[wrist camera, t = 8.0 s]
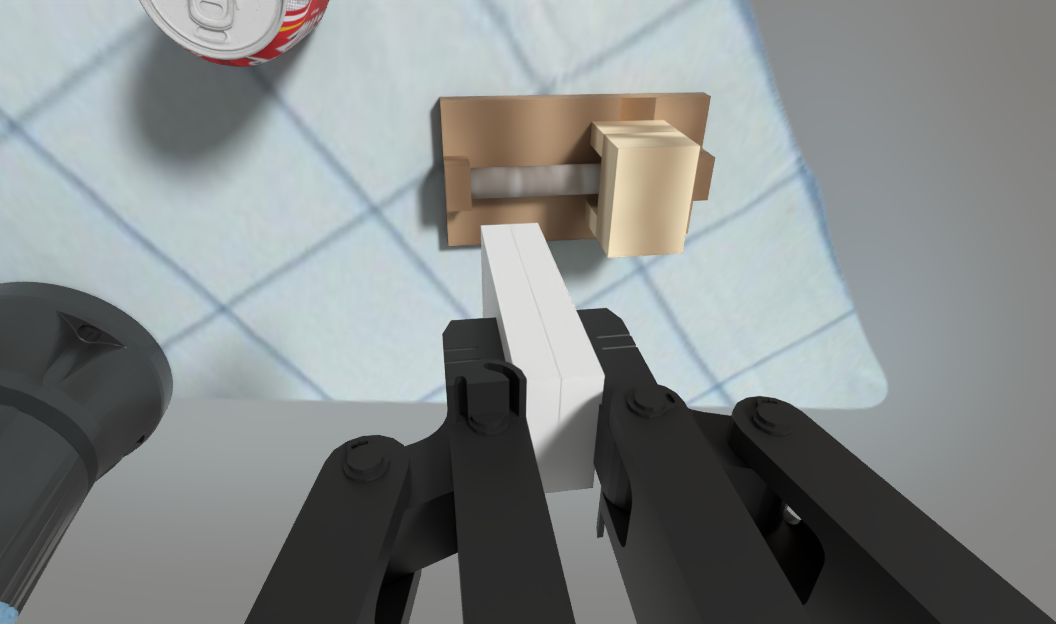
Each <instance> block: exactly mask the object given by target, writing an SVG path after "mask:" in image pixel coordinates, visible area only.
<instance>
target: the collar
mask: <svg viewBox="0 0 1056 624" xmlns="http://www.w3.org/2000/svg"><path fill="white" fill-rule="evenodd" d="M590 145H591V146H592V147H593V148H594V149H595V150H596V151H597V153H598V154H599V155H600V156H601V157H602V161H601V173H600V185H599V197H598V200H586V210H585V221H586V223H587V224H588V226H589V228H590V229H591V231H592V233H593V234H594V236H595V237H596V239H597V241H598V242H599V244H600V246H601V247H602V249H603V251H604V252H605V254H606V255H607V257H608V258H612V257H629V256H646V255H664V254H681V253H682V252H683V246H684V240H685V234H686V228H687V222H688V216H689V210H690V204H691V198H692V193H693V187H694V181H695V175H696V169H697V163H698V157H699V151H700V146H699V145H698V144H696V143H695V142H694V141H692V140H691V139H690V138H688V137H687V136H685V135H684V134H683V133H681V132H680V131H678V130H677V129H676V128H674V127H673V126H671V125H670V124H669V123H667V122H666V121H664V120H642V121H599V122H592V126H591V140H590Z"/></svg>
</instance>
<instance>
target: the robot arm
mask: <svg viewBox="0 0 1056 624" xmlns="http://www.w3.org/2000/svg"><path fill="white" fill-rule="evenodd" d="M481 259H482V297H483V318H479V319H465V320H451V321H450V323H449V324H448V326H447V328H446V329H445V331H444V332H443V334H442V335H443V350H444V364H445V379H446V393H447V407H448V411H447V417H446V419H445V421H444V423H443V424H442V426H441V427H440V428H439V429H438V430H437V431H436V432H434V433H433V434H432V435H430V436H429V437H427V438H425V439H423V440H421V441H418V442H416V443H413V444H410V445H407V446H405V447H404V445H403V444H401V443H399V442H398V441H397V440H395V439H394V438H390V437H386V436H381V435H372V436H362V437H359V438H356V439H353V440H350V441H347V442H345V443H344V444H343V445H341V446H339V447H338V448H336V449H335V450H334V451H333V452H332V453H331V455H330V456H329V457H328V459H327V460H326V461H325V463H324V465H323V467H322V469H321V471H320V473H319V475H318V477H317V479H316V481H315V483H314V485H313V487H312V489H311V491H310V493H309V495H308V497H307V499H306V501H305V503H304V505H303V507H302V509H301V511H300V513H299V515H298V517H297V519H296V521H295V523H294V525H293V527H292V529H291V531H290V533H289V535H288V537H287V539H286V541H285V543H284V545H283V547H282V549H281V551H280V553H279V555H278V557H277V559H276V561H275V563H274V565H273V567H272V569H271V571H270V573H269V575H268V577H267V579H266V581H265V583H264V585H263V587H262V589H261V591H260V593H259V595H258V597H257V599H256V601H255V603H254V605H253V607H252V609H251V611H250V613H249V615H248V617H247V619H246V621H245V623H244V624H408V623H409V620H410V616H411V612H412V608H413V604H414V600H415V596H416V592H417V588H418V584H419V581H420V577H421V569H422V568H424V567H426V566H429V565H431V564H433V563H435V562H438V561H440V560H442V559H444V558H447V557H449V556H451V555H453V554H456V553H458V561H459V574H460V588H461V602H462V615H463V624H576V623H575V619H574V615H573V611H572V606H571V602H570V598H569V594H568V590H567V586H566V581H565V577H564V573H563V569H562V565H561V560H560V557H559V552H558V548H557V544H556V540H555V535H554V532H553V527H552V523H551V519H550V515H549V510H548V506H547V502H546V498H545V494H544V493H551V492H560V491H568V490H578V489H586V488H593V482H594V471H595V469H596V472H597V475H598V478H599V481H600V484H601V494H600V502H599V511H598V519H597V520H598V521H597V538H599V537H603V533H604V525H605V526H606V529H607V532H608V535H609V538H610V541H611V544H612V547H613V550H614V554H615V557H616V560H617V563H618V566H619V569H620V572H621V575H622V578H623V581H624V585H625V588H626V591H627V594H628V597H629V600H630V603H631V606H632V609H633V612H634V615H635V619H636V621H637V624H1056V622H1055V621H1054V620H1053V619H1051V618H1050V617H1049V616H1048V615H1047V614H1045V613H1044V612H1043V611H1042V610H1041V609H1039V608H1038V607H1037V606H1036V605H1035V604H1033V603H1032V602H1031V601H1030V600H1029V599H1027V598H1026V597H1025V596H1024V595H1022V594H1021V593H1020V592H1019V591H1018V590H1016V589H1015V588H1014V587H1013V586H1012V585H1011V584H1009V583H1008V582H1007V581H1006V580H1004V579H1003V578H1002V577H1001V576H1000V575H998V574H997V573H996V572H995V571H994V570H992V569H991V568H990V567H989V566H988V565H986V564H985V563H984V562H983V561H982V560H980V559H979V558H978V557H977V556H976V555H974V554H973V553H972V552H971V551H969V550H968V549H967V548H966V547H965V546H964V545H962V544H961V543H960V542H959V541H957V540H956V539H955V538H954V537H953V536H951V535H950V534H949V533H948V532H947V531H945V530H944V529H943V528H942V527H941V526H939V525H938V524H937V523H936V522H935V521H933V520H932V519H931V518H930V517H929V516H927V515H926V514H925V513H924V512H922V511H921V510H920V509H919V508H918V507H916V506H915V505H914V504H913V503H912V502H910V501H909V500H908V499H907V498H906V497H904V496H903V495H902V494H901V493H900V492H898V491H897V490H896V489H895V488H894V487H892V486H891V485H890V484H889V483H888V482H886V481H885V480H884V479H883V478H882V477H880V476H879V475H878V474H877V473H875V472H874V471H873V470H872V469H870V468H869V467H868V466H867V465H866V464H865V463H863V462H862V461H861V460H860V459H859V458H857V457H856V456H855V455H854V454H853V453H851V452H850V451H849V450H848V449H846V448H845V447H844V446H843V445H842V444H841V443H839V442H838V441H837V440H836V439H835V438H833V437H832V436H831V435H830V434H829V433H827V432H826V431H825V430H824V429H823V428H821V427H820V426H819V425H817V424H816V423H815V422H814V421H813V420H812V419H810V418H809V417H808V416H807V415H806V414H804V413H803V412H802V411H800V410H799V409H797V408H796V407H794V406H793V405H791V404H789V403H787V402H784V401H781V400H778V399H776V398H770V397H762V396H757V397H749V398H745V399H743V400H741V401H740V402H738V403H737V404H736V406H735V408H734V409H733V412H732V415H731V416H728V415H720V414H714V413H707V412H701V411H696V410H692V409H689V408H688V407H687V406H686V404H685V402H684V401H683V400H682V399H681V398H680V397H679V395H678V394H677V393H675V392H674V391H672V390H670V389H669V388H667V387H665V386H662V385H658V384H657V382H656V380H655V378H654V377H653V375H652V373H651V371H650V369H649V368H648V366H647V364H646V362H645V360H644V358H643V357H642V355H641V353H640V351H639V349H638V348H637V347H636V344H635V342H634V340H633V338H632V337H631V336H630V333H629V331H628V329H627V328H626V326H625V324H624V322H623V320H622V319H621V318H619V317H618V316H617V315H615V314H614V313H613V312H611V311H610V310H609V309H607V308H599V309H585V310H576V309H575V306H574V304H573V302H572V300H571V297H570V295H569V293H568V290H567V288H566V286H565V284H564V281H563V279H562V277H561V275H560V272H559V270H558V268H557V265H556V263H555V261H554V259H553V256H552V254H551V252H550V249H549V247H548V245H547V243H546V240H545V238H544V236H543V234H542V231H541V229H540V227H539V224H538V223H524V224H503V225H482V226H481ZM172 389H173V381H172V374H171V369H170V366H169V363H168V361H167V358H166V356H165V354H164V352H163V351H162V349H161V348H160V346H159V345H158V343H157V342H156V340H155V339H154V338H153V337H152V336H151V335H150V333H149V332H148V331H147V330H146V329H145V328H144V327H143V326H141V325H140V324H139V323H138V322H137V321H136V320H134V319H133V318H132V317H130V316H129V315H128V314H126V313H125V312H123V311H122V310H120V309H118V308H117V307H115V306H113V305H111V304H110V303H108V302H106V301H104V300H102V299H99V298H97V297H95V296H92V295H90V294H87V293H84V292H81V291H78V290H75V289H71V288H67V287H63V286H59V285H53V284H46V283H37V282H11V283H2V284H0V624H16V621H17V619H18V616H19V614H20V612H21V611H22V609H23V607H24V605H25V603H26V602H27V600H28V598H29V596H30V594H31V593H32V591H33V589H34V588H35V586H36V584H37V582H38V580H39V579H40V577H41V575H42V574H43V572H44V570H45V568H46V567H47V565H48V563H49V561H50V559H51V558H52V556H53V554H54V552H55V551H56V549H57V547H58V545H59V544H60V542H61V540H62V538H63V536H64V535H65V533H66V531H67V530H68V528H69V526H70V524H71V522H72V521H73V519H74V517H75V515H76V514H77V512H78V510H79V508H80V507H81V505H82V503H83V501H84V499H85V498H86V496H87V494H88V492H89V491H90V489H91V487H92V486H93V484H94V483H95V482H96V481H97V480H98V479H99V478H101V477H102V476H103V475H104V474H106V473H107V472H108V471H109V470H111V469H112V468H113V467H114V466H115V465H116V464H117V463H118V462H119V461H120V460H121V459H122V458H123V457H124V456H126V455H128V454H130V453H131V452H133V451H134V450H135V449H137V448H138V447H139V446H140V445H142V444H143V443H144V442H145V441H146V440H147V439H148V438H149V437H150V435H151V434H152V433H153V432H154V430H155V429H156V427H157V426H158V424H159V422H160V420H161V418H162V417H163V415H164V413H165V411H166V409H167V407H168V405H169V402H170V400H171V396H172ZM788 506H789V507H790V508H791V509H792V510H793V511H794V512H795V513H796V514H797V515H798V516H799V517H800V518H801V520H799V519H797V518H795V517H794V516H793V515H791V514H790V512H789V511H788V510H787V507H788Z"/></svg>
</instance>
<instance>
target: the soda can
mask: <svg viewBox="0 0 1056 624" xmlns="http://www.w3.org/2000/svg"><path fill="white" fill-rule="evenodd" d="M139 1H140V3H141V4H142V6H143V8H144V9H145V11H146V13H147V14H148V15H149V17H150V18H151V19H152V20H153V22H154V23H155V24H156V25H157V26H158V27H159V28H160V29H161V30H162V31H163V32H164V33H165V34H166V35H167V36H168V37H170V38H171V39H172V40H174V41H175V42H176V43H178V44H179V45H180V46H181V47H183V48H184V49H186V50H188V51H189V52H191V53H193V54H194V55H196V56H198V57H201V58H203V59H205V60H208V61H211V62H214V63H218V64H221V65H228V66H236V67H239V66H253V65H258V64H262V63H265V62H267V61H270V60H273V59H274V58H276V57H278V56H280V55H282V54H283V53H285V52H287V51H288V50H290V49H291V48H292V47H294V46H295V45H296V44H297V43H298V42H300V41H301V40H302V39H303V38H304V37H305V36H306V35H307V34H308V33H310V32H311V31H312V30H313V29H314V28H315V27H316V25H317V24H318V23H319V21H320V20H321V19H322V17H323V15H324V13H325V11H326V8H327V5H328V2H329V0H139Z"/></svg>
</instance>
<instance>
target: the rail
mask: <svg viewBox="0 0 1056 624" xmlns="http://www.w3.org/2000/svg"><path fill="white" fill-rule="evenodd" d="M710 98H711V96H709V95H707V94H705V93H646V94H587V95H528V96H469V97H440V112H441V129H442V147H443V164H444V181H445V198H446V216H447V233H448V245H449V246H459V245H478V244H481V226H482V225H503V224H524V223H538V224H539V227H540V229H541V231H542V234H543V236H544V238H545V240H546V241H555V240H574V239H593V238H596V237H595V236H594V234H593V233H592V231H591V229H590V228H589V226H588V224H587V223H586V221H585V210H586V200H598V197H599V185H600V173H601V161H602V157H601V156H600V155H599V154H598V153H597V151H596V150H595V149H594V148H593V147H592V146H591V145H590V140H591V126H592V122H599V121H642V120H664V121H666V122H667V123H669V124H670V125H671V126H673V127H674V128H676V129H677V130H678V131H680V132H681V133H683V134H684V135H685V136H687V137H688V138H690V139H691V140H692V141H694V142H695V143H696V144H698V145H699V146H700V151H699V157H698V163H697V169H696V175H695V181H694V187H693V193H692V198H691V204H690V210H689V216H688V222H687V228H686V234H688V228H689V222H690V216H691V210H692V204H693V201H700V200H708V194H709V189H710V183H711V178H712V172H713V167H714V161H715V157H714V156H712V155H711V154H709V153H708V152H707V151H705V150H704V149H702V145H703V139H704V133H705V127H706V121H707V116H708V110H709V104H710Z"/></svg>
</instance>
